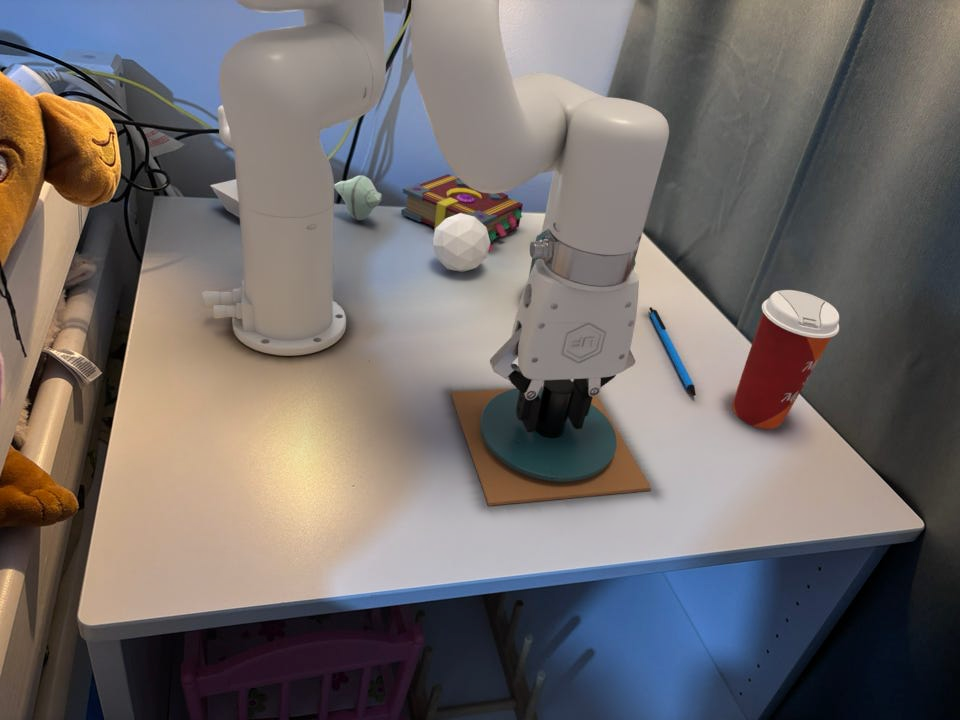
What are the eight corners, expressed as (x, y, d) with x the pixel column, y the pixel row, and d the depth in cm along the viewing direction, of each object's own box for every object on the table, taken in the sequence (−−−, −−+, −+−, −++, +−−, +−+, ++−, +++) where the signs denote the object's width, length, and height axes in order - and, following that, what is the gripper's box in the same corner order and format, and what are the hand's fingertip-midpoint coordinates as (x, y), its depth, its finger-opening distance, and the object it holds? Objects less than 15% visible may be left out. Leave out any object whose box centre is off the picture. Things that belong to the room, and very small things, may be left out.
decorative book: (445, 198, 119) (448, 169, 116) (526, 231, 112) (531, 201, 109) (400, 216, 111) (402, 185, 108) (484, 253, 104) (489, 221, 101)
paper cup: (797, 442, 77) (852, 333, 69) (725, 426, 78) (771, 316, 70) (786, 399, 83) (835, 295, 75) (719, 385, 84) (761, 280, 76)
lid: (499, 492, 65) (510, 436, 61) (465, 398, 75) (473, 345, 71) (636, 480, 68) (654, 426, 64) (585, 392, 79) (599, 341, 75)
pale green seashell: (329, 216, 108) (329, 173, 104) (345, 208, 111) (345, 165, 107) (374, 231, 105) (376, 188, 102) (389, 222, 109) (392, 180, 105)
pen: (652, 311, 96) (655, 304, 96) (697, 400, 81) (701, 392, 80) (646, 310, 96) (648, 303, 95) (690, 399, 81) (693, 391, 80)
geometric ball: (467, 290, 100) (487, 266, 93) (416, 263, 99) (433, 237, 92) (486, 248, 103) (506, 222, 96) (437, 221, 102) (454, 192, 95)
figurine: (246, 229, 101) (239, 122, 92) (207, 206, 105) (197, 102, 97) (288, 217, 106) (286, 114, 97) (249, 195, 110) (244, 95, 102)
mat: (488, 506, 64) (488, 502, 63) (450, 394, 76) (451, 391, 76) (650, 490, 68) (651, 487, 68) (589, 387, 80) (590, 384, 80)
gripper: (505, 277, 55) (476, 454, 65) (698, 276, 59) (642, 441, 70) (482, 234, 61) (458, 402, 71) (659, 236, 65) (613, 393, 76)
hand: (550, 420), depth 70 cm, fingers open, 4 cm apart
